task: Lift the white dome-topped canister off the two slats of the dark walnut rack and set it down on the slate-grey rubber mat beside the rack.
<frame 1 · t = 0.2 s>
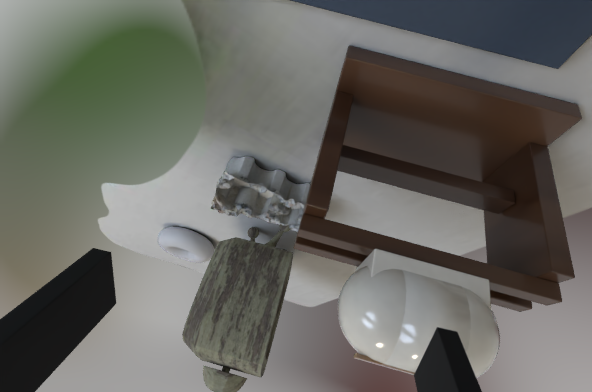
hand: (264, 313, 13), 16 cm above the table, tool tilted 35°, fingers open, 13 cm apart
tabletop clock: (268, 229, 46), on the table
rack: (424, 130, 23), on the table
white dome-topped canister: (416, 273, 18), point 11 cm above the table, touching rack
donut: (190, 235, 57), on the table
egg carton: (272, 182, 35), on the table
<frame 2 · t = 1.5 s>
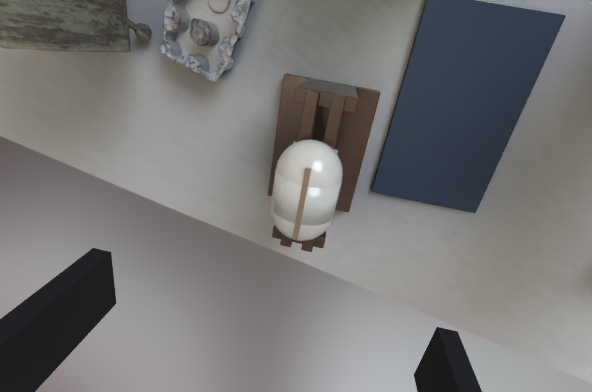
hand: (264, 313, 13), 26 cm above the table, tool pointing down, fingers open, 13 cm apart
rack: (319, 145, 36), on the table
white dome-topped canister: (309, 179, 27), point 11 cm above the table, touching rack
mat: (453, 115, 33), on the table
egg carton: (217, 18, 33), on the table
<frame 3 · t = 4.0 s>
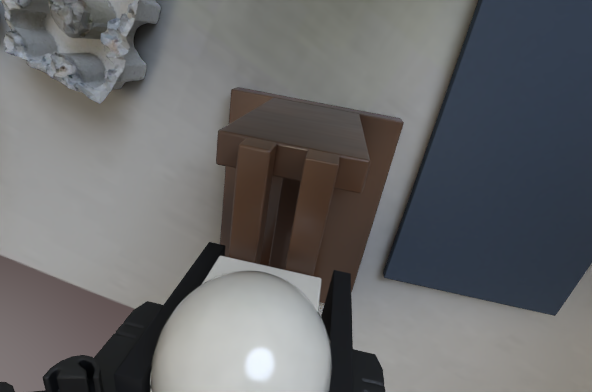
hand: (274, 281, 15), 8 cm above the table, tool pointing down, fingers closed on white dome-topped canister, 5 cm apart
rack: (298, 205, 22), on the table
white dome-topped canister: (260, 328, 12), point 11 cm above the table, touching gripper, rack
mat: (530, 161, 19), on the table
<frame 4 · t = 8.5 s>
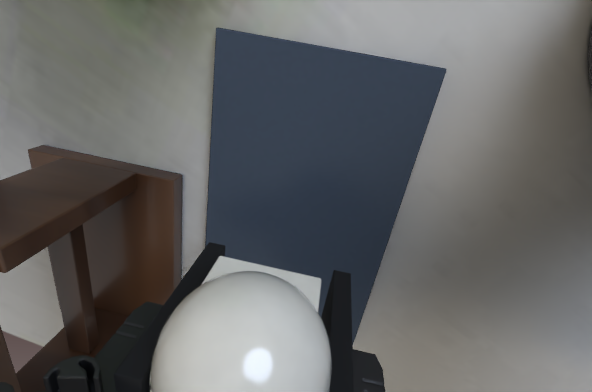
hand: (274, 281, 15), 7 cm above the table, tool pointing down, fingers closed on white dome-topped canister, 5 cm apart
rack: (119, 245, 24), on the table
white dome-topped canister: (260, 329, 12), point 10 cm above the table, touching gripper
mat: (298, 212, 21), on the table
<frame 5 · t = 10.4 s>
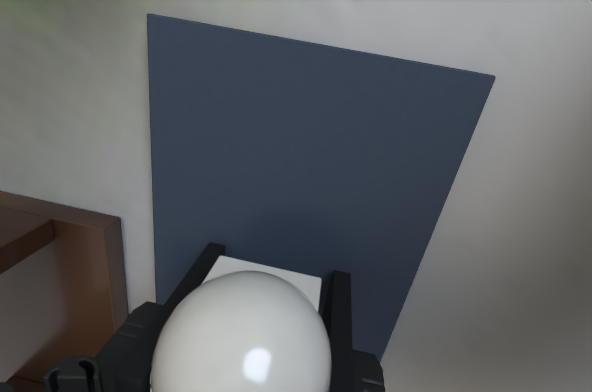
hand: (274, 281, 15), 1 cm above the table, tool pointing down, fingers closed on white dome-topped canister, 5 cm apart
rack: (49, 302, 19), on the table
white dome-topped canister: (260, 328, 12), point 4 cm above the table, touching gripper
mat: (278, 269, 15), on the table
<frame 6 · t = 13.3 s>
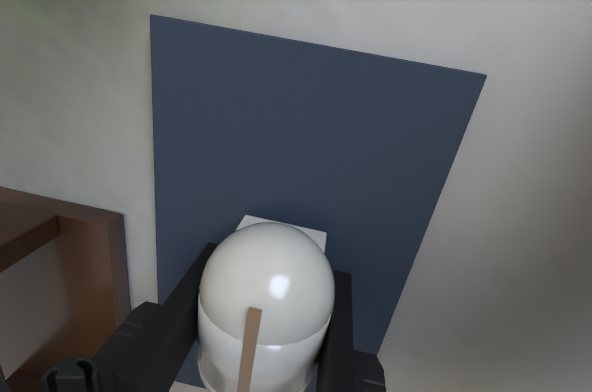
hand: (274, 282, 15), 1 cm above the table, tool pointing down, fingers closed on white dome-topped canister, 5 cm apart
rack: (52, 297, 19), on the table
white dome-topped canister: (276, 277, 15), point 1 cm above the table, touching gripper
mat: (277, 264, 16), on the table
when the fingers open (1 cm above the table, at t = 13.3 s): white dome-topped canister stays where it is, resting on mat.
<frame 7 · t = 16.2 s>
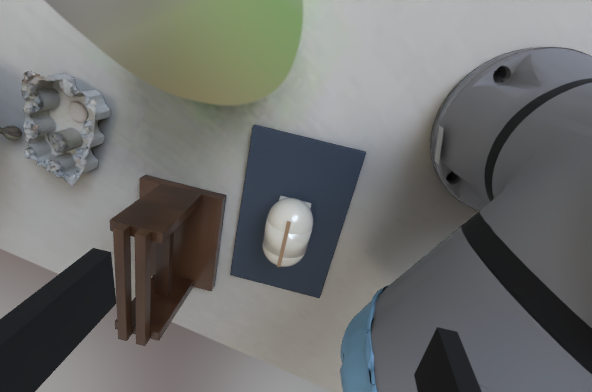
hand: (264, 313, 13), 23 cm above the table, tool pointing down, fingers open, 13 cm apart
rack: (182, 234, 40), on the table
white dome-topped canister: (290, 221, 37), point 1 cm above the table, touching mat
mat: (290, 219, 38), on the table
egg carton: (79, 125, 36), on the table
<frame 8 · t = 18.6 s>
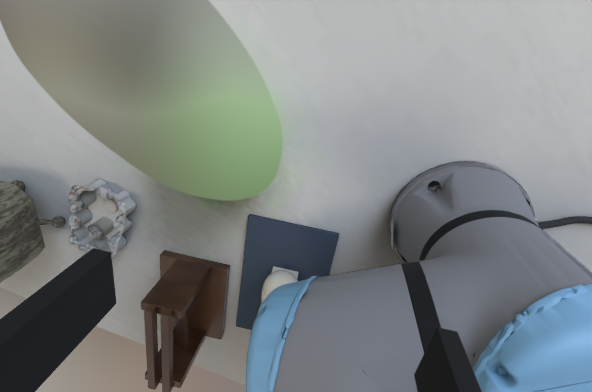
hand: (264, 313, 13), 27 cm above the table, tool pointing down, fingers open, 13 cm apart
tabletop clock: (27, 195, 46), on the table
rack: (195, 294, 49), on the table
white dome-topped canister: (283, 285, 45), point 1 cm above the table, touching mat
mat: (282, 282, 46), on the table
egg carton: (111, 214, 45), on the table
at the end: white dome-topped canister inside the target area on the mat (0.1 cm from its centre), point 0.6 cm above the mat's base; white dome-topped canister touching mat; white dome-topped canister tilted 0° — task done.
